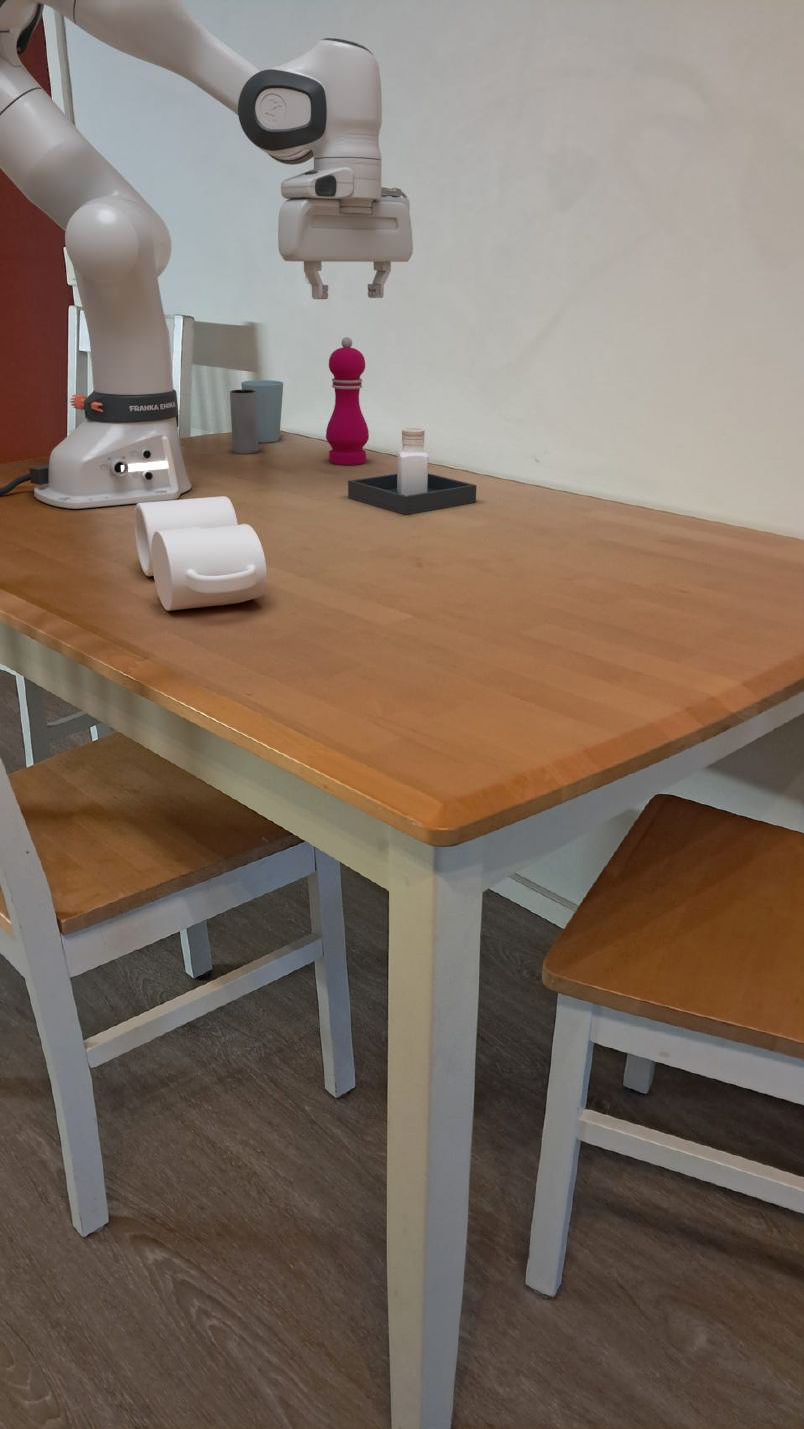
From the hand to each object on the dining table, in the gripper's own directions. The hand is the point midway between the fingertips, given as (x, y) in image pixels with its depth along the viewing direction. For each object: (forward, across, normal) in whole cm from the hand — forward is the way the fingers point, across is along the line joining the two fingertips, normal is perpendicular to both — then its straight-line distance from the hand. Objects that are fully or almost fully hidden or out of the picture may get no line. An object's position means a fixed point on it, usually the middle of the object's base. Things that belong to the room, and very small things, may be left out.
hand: (348, 298), depth 145 cm
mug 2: (+27, +42, +33) cm, 60 cm away
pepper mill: (+27, -16, -22) cm, 39 cm away
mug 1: (+27, +37, +18) cm, 49 cm away
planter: (+27, -7, -40) cm, 49 cm away
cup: (+27, -16, -48) cm, 58 cm away
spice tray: (+27, -6, +7) cm, 29 cm away
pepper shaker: (+27, -6, +7) cm, 28 cm away
